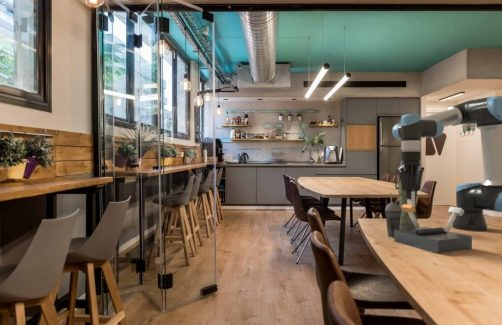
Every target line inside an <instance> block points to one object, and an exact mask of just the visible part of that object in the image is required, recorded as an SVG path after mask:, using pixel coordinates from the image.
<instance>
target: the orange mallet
mask: <svg viewBox="0 0 502 325" xmlns="http://www.w3.org/2000/svg"><path fill="white" fill-rule="evenodd" d="M401 208H402V210H403V211H404V212H408V214H409V216H410V218H411V220H412V222H413V224H414V226H415V227H416V228H418V227H421V226H420V224H419V222H418V219H417V220H416V218H415V216H414V214H413V212H414V211H415V208H414V206H413V205H406V204H404V205H402V206H401Z"/></svg>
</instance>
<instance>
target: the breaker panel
mask: <svg viewBox="0 0 502 325" xmlns="http://www.w3.org/2000/svg"><path fill="white" fill-rule="evenodd" d="M431 228H432V227H428V226H420V227H418V228H407V229H397V230H394V237H393V239H394V242H396V243H400V244H402V245H406V246H410V247H412V248H418V249H420V250H424V251H427V252H431V253H433V254H438V255H441V254H446V253H447V254H448V253H454V252H462V251H469V250H470V251H471V250H472V249H473V237H472V236H471V235H467V234H462V233H457V232H451V231H449V233H447V232H442V233H433V234H423V235H419V234H415V232H414V231H415V230H421V229H431Z"/></svg>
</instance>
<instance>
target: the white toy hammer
mask: <svg viewBox="0 0 502 325" xmlns="http://www.w3.org/2000/svg"><path fill="white" fill-rule="evenodd" d="M447 212H448V213H449V214H450V217H449V219H448V221H447V223H446V225H445V227H444V228H445V229H444V231H445V232H447V233H449V232H451V228H452V227H453V222H454V220H455V218H456V216H457V215H459V216H462V215H463V213H464V210H463V209H462V208H457V207H456V206H449V209H448V211H447Z"/></svg>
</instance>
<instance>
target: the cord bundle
mask: <svg viewBox="0 0 502 325" xmlns="http://www.w3.org/2000/svg"><path fill="white" fill-rule="evenodd" d="M430 228H431V229H421V230H415V231H414V232H415V234H419V235H423V234H433V233H442V232H445V231H444V229H445V227H444V228H443V227H430Z"/></svg>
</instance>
